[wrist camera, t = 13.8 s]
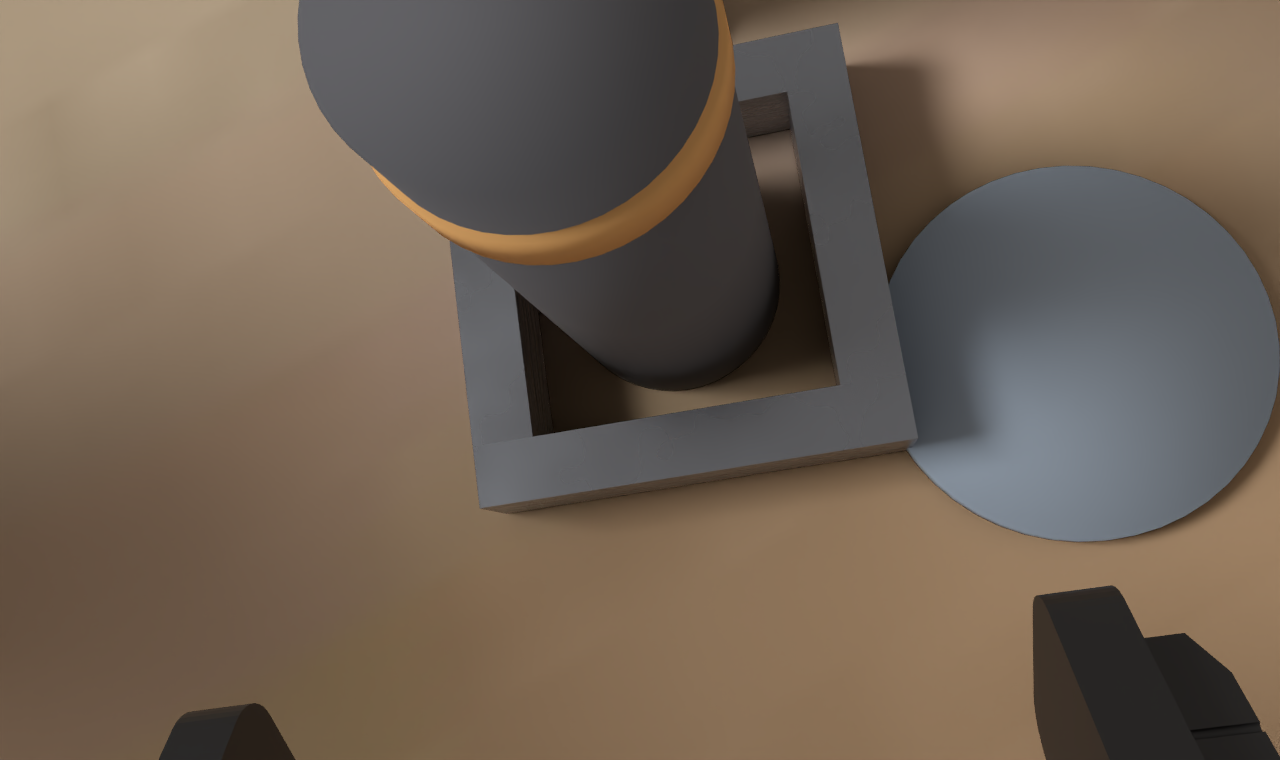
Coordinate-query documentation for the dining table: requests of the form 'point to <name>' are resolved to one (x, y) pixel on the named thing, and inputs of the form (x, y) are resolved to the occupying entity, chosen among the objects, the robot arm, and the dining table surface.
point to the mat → (1083, 353)
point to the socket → (732, 433)
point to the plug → (569, 161)
